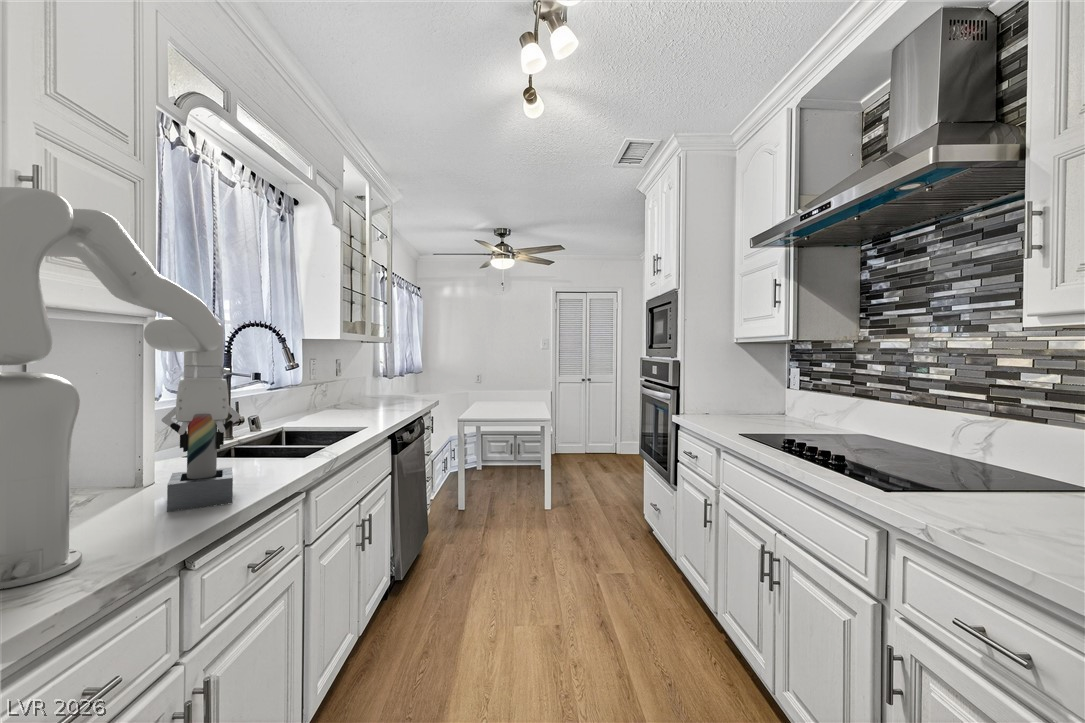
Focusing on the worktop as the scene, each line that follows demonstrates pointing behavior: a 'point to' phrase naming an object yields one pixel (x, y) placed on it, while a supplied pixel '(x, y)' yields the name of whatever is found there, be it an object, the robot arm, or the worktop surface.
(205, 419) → the lotion bottle
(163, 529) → the worktop surface
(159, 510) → the worktop surface
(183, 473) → the socket block
